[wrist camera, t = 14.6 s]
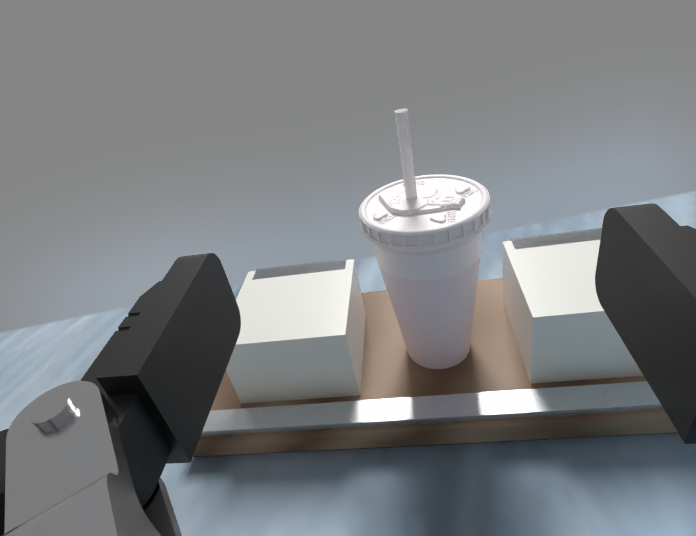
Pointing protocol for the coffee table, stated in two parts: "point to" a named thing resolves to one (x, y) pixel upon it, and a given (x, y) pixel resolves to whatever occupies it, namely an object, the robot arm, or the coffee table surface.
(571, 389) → the rail board
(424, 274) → the smoothie
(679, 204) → the coffee table surface
